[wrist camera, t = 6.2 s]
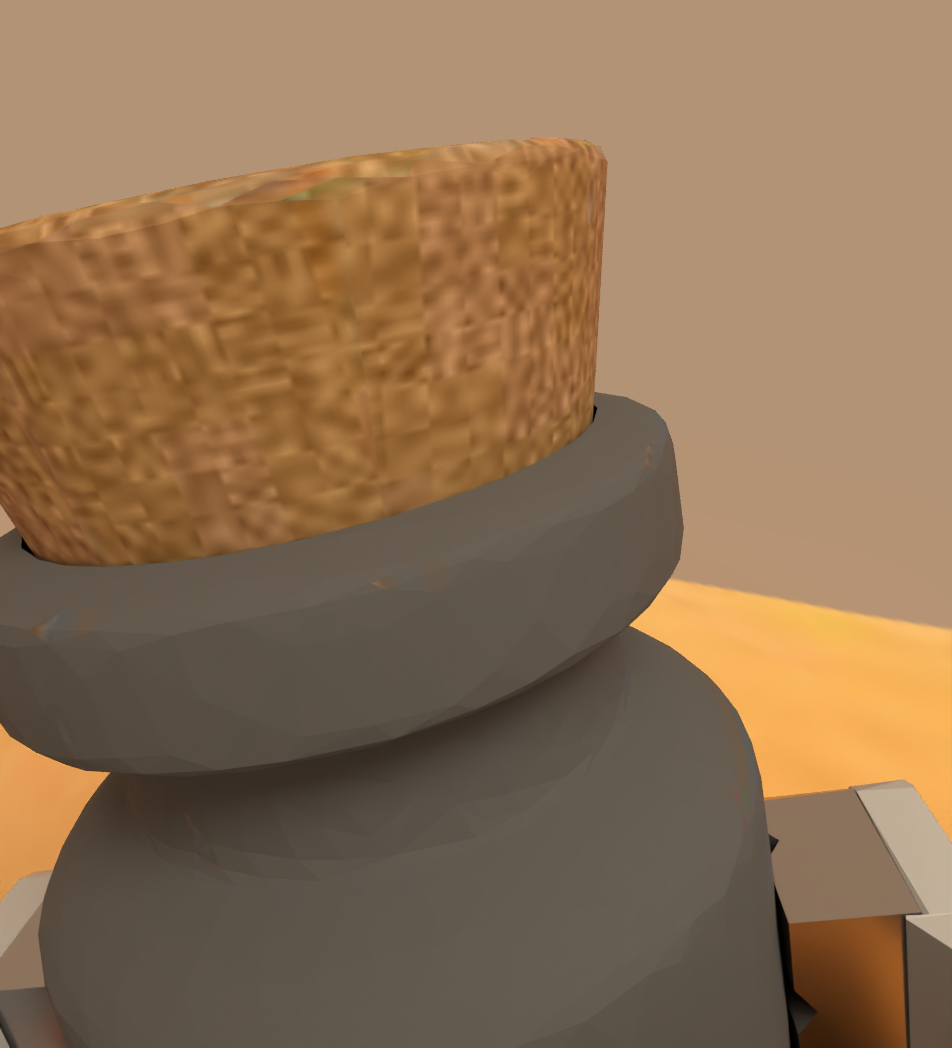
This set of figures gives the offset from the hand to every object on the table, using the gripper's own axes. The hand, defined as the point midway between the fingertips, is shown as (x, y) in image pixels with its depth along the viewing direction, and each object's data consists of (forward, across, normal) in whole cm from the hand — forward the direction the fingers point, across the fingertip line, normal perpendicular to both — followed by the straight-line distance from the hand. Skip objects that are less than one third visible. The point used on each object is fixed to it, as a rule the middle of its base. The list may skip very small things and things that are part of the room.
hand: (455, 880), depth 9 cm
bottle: (-1, 0, +9) cm, 9 cm away
